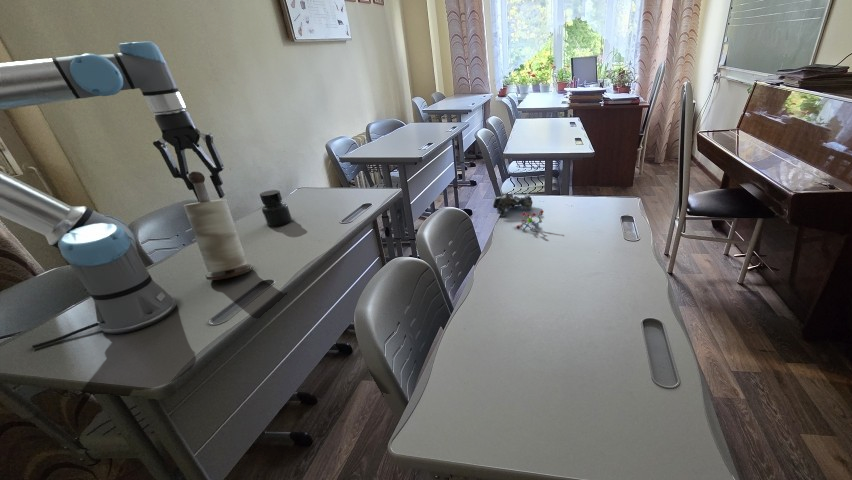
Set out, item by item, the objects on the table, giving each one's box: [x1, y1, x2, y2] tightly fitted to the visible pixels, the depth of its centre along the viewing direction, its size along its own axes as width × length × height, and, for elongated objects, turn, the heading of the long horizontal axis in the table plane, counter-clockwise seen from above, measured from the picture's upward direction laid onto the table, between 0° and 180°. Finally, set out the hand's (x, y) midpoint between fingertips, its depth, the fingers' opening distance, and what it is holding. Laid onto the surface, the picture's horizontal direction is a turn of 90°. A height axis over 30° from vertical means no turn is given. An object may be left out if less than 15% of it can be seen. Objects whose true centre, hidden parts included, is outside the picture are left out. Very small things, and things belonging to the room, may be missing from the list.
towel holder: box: [183, 170, 254, 281], centre depth 113 cm, size 12×29×12 cm
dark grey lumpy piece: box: [492, 192, 533, 218], centre depth 153 cm, size 12×11×15 cm
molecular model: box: [515, 209, 544, 232], centre depth 137 cm, size 7×8×8 cm
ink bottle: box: [259, 189, 293, 227], centre depth 153 cm, size 10×9×12 cm
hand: (211, 198), depth 115 cm, fingers open, 5 cm apart
